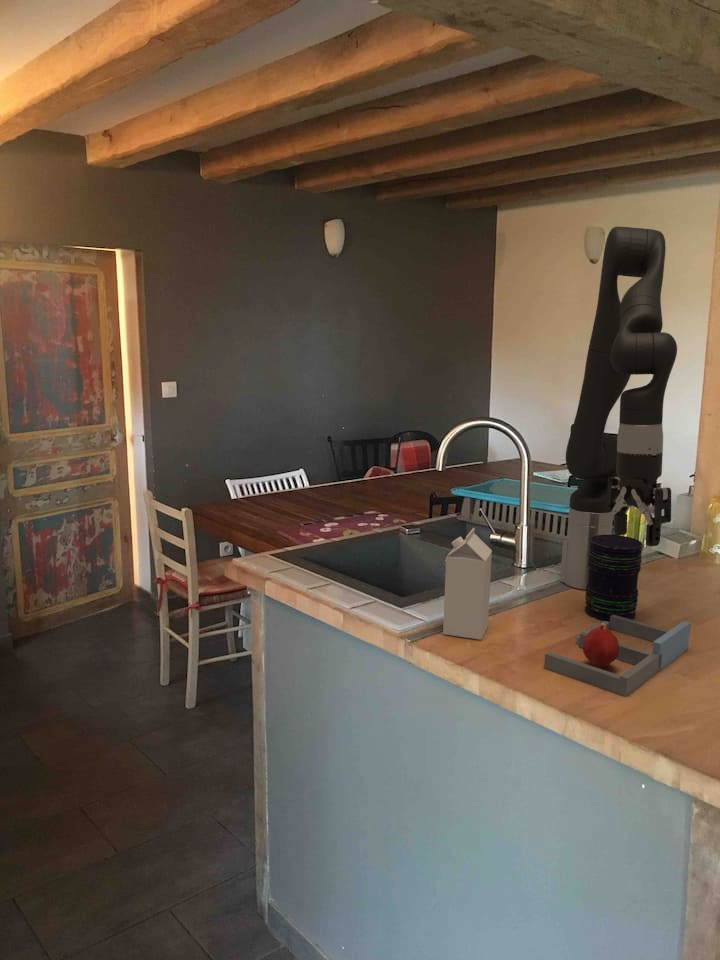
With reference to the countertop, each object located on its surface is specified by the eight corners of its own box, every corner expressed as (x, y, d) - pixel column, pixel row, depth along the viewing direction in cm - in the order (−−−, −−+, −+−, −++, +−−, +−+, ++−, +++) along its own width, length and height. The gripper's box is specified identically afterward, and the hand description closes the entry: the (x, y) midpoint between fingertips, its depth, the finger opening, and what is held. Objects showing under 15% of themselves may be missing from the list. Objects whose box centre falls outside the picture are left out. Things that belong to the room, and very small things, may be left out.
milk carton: (488, 626, 145) (493, 529, 141) (481, 641, 139) (486, 539, 135) (451, 621, 148) (455, 525, 144) (442, 635, 141) (446, 535, 137)
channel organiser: (537, 665, 129) (539, 637, 128) (606, 625, 147) (608, 600, 146) (625, 696, 119) (628, 666, 118) (687, 649, 137) (690, 622, 136)
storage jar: (639, 610, 155) (646, 539, 152) (631, 626, 147) (638, 551, 144) (589, 601, 160) (595, 531, 157) (578, 616, 151) (584, 543, 148)
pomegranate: (575, 660, 131) (579, 616, 130) (608, 660, 132) (612, 615, 130) (588, 676, 125) (592, 630, 124) (622, 675, 126) (626, 629, 124)
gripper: (596, 446, 139) (593, 533, 142) (649, 455, 126) (645, 551, 129) (630, 443, 142) (627, 529, 144) (686, 452, 128) (682, 547, 131)
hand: (636, 539), depth 137 cm, fingers open, 8 cm apart
